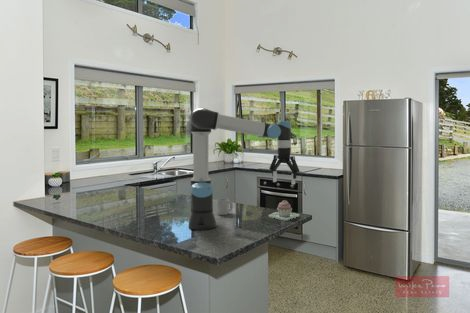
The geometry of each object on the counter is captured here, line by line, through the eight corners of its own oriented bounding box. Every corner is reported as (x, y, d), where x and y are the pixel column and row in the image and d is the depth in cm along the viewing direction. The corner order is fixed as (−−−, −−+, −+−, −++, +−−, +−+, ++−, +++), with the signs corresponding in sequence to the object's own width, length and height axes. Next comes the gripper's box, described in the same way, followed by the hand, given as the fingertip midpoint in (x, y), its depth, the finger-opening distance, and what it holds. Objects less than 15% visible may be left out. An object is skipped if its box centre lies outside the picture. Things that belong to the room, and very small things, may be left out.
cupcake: (273, 216, 233) (273, 200, 232) (282, 213, 240) (282, 197, 239) (286, 219, 227) (286, 202, 226) (295, 216, 234) (295, 199, 233)
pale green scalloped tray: (286, 220, 224) (286, 218, 224) (267, 216, 234) (267, 214, 234) (299, 216, 234) (299, 214, 234) (280, 213, 244) (280, 210, 243)
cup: (216, 212, 247) (215, 198, 246) (231, 211, 249) (231, 197, 248) (218, 215, 240) (218, 201, 239) (234, 214, 242) (234, 200, 241)
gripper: (305, 147, 224) (305, 184, 226) (271, 146, 241) (271, 180, 243) (297, 148, 219) (297, 186, 220) (263, 146, 236) (263, 181, 238)
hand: (283, 183), depth 232 cm, fingers open, 13 cm apart
